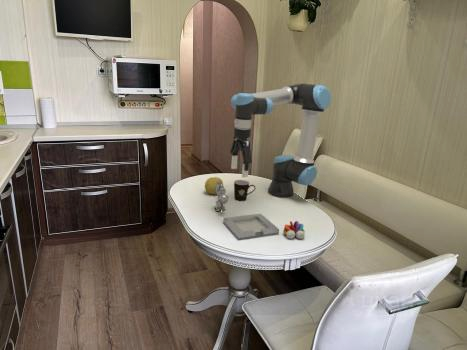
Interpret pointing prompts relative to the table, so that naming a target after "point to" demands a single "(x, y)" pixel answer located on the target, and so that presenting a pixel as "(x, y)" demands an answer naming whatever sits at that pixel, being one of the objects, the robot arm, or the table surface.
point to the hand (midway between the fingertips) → (239, 172)
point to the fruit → (212, 185)
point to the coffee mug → (241, 189)
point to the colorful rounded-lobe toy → (294, 230)
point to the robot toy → (221, 196)
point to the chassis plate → (250, 226)
